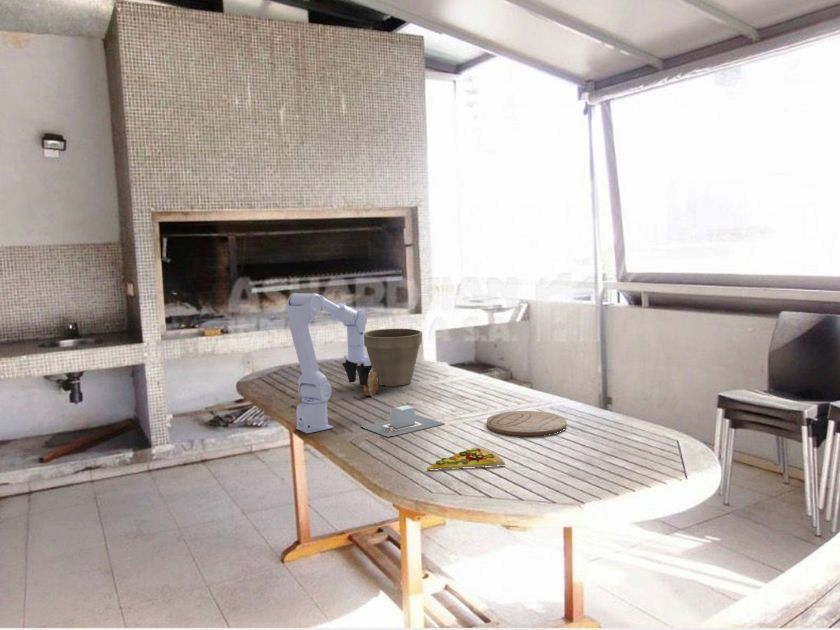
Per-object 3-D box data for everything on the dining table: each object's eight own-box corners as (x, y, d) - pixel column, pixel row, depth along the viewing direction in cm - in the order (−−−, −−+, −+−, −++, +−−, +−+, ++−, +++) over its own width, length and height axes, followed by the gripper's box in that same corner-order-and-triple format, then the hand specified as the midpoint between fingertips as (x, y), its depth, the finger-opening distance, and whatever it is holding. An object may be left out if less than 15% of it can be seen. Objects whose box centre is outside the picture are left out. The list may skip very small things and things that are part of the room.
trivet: (577, 421, 217) (577, 415, 216) (550, 442, 195) (550, 435, 195) (505, 413, 229) (505, 408, 229) (473, 432, 208) (473, 426, 208)
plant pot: (421, 388, 270) (419, 335, 268) (360, 390, 272) (358, 337, 269) (425, 376, 295) (423, 327, 293) (369, 377, 297) (367, 329, 294)
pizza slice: (510, 467, 176) (510, 456, 175) (440, 482, 167) (440, 470, 166) (479, 452, 189) (479, 441, 189) (413, 464, 180) (413, 454, 180)
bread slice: (369, 398, 257) (368, 376, 256) (361, 398, 258) (360, 376, 257) (379, 389, 272) (379, 369, 271) (372, 389, 272) (371, 369, 271)
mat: (388, 437, 204) (388, 436, 204) (360, 427, 216) (360, 426, 216) (444, 424, 217) (444, 423, 217) (415, 415, 229) (415, 414, 229)
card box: (414, 424, 217) (414, 406, 216) (397, 428, 213) (396, 410, 212) (407, 421, 220) (406, 404, 220) (390, 425, 216) (389, 408, 215)
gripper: (377, 346, 229) (378, 385, 230) (355, 341, 240) (357, 378, 242) (359, 348, 225) (361, 388, 226) (338, 344, 236) (339, 381, 238)
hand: (357, 383), depth 234 cm, fingers open, 7 cm apart
